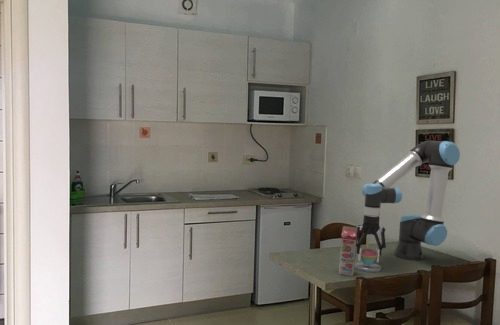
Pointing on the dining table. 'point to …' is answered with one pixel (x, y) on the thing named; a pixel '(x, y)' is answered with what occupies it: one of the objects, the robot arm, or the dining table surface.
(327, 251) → the dining table surface
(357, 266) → the plate
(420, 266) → the dining table surface
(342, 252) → the juice carton
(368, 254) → the cupcake
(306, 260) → the dining table surface
